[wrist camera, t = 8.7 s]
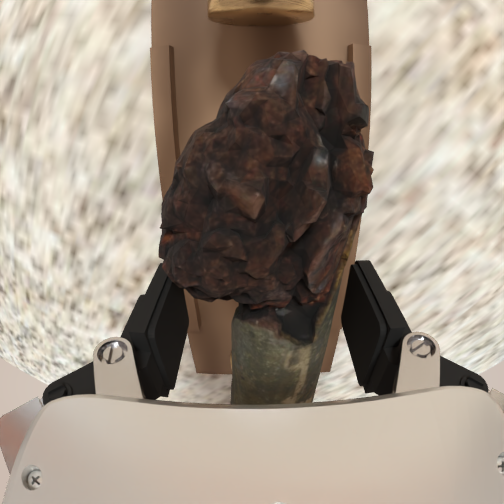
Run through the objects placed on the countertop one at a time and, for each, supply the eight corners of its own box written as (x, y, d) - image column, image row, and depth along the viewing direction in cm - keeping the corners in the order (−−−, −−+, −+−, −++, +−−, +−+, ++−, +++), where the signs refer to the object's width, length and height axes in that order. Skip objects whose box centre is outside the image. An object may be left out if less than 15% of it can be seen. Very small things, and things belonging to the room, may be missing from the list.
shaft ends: (302, -40, 12) (317, -79, 7) (291, 367, 30) (295, 415, 25) (214, -39, 13) (200, -78, 7) (235, 368, 30) (232, 416, 25)
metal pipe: (307, 379, 19) (315, 455, 14) (203, 375, 19) (191, 452, 14) (356, 69, 10) (427, 60, 5) (181, 61, 10) (121, 43, 5)
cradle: (356, -35, 13) (368, -48, 11) (327, 361, 31) (331, 380, 29) (159, -34, 13) (147, -46, 11) (198, 362, 32) (195, 381, 29)
